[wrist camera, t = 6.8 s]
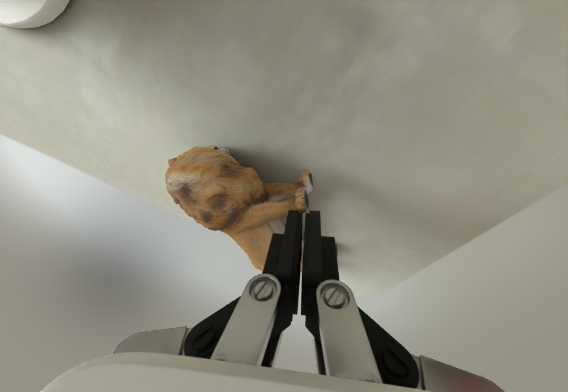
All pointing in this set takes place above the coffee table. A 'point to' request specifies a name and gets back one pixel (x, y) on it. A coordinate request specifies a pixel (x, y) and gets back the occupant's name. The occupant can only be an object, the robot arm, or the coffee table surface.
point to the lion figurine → (234, 198)
